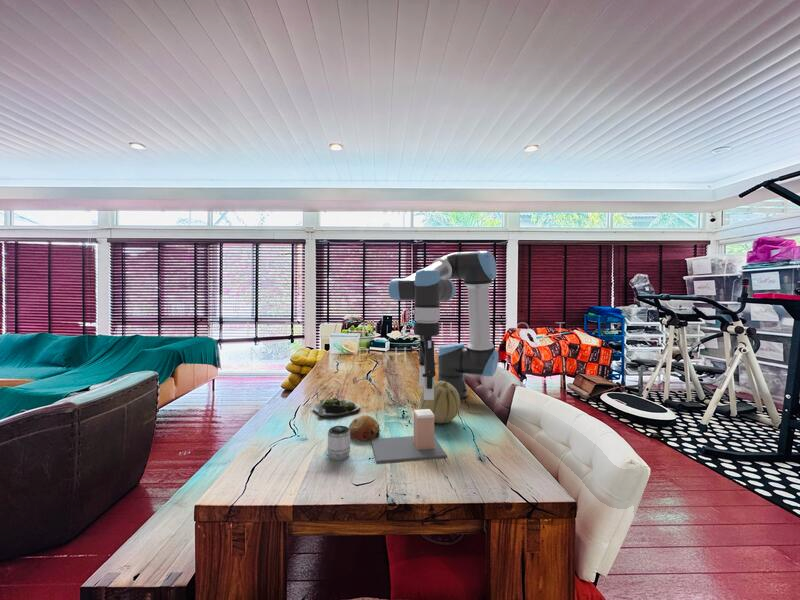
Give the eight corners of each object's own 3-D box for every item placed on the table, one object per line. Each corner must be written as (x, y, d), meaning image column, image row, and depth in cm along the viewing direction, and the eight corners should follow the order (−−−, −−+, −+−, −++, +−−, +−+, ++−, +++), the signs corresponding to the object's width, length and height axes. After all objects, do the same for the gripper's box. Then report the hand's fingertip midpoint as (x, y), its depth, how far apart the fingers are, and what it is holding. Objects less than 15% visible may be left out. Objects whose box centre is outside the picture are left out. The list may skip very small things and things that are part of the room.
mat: (432, 436, 110) (432, 434, 110) (446, 457, 96) (446, 455, 96) (371, 440, 106) (371, 439, 106) (376, 462, 92) (376, 460, 92)
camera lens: (336, 448, 100) (336, 422, 100) (354, 453, 98) (354, 426, 97) (322, 458, 95) (323, 430, 94) (341, 463, 92) (341, 434, 92)
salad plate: (302, 408, 136) (302, 396, 136) (341, 399, 147) (341, 389, 147) (323, 422, 121) (323, 409, 121) (365, 412, 132) (365, 400, 132)
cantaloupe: (432, 411, 133) (432, 373, 132) (466, 420, 124) (467, 379, 124) (411, 423, 121) (411, 381, 120) (448, 433, 112) (448, 388, 112)
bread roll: (370, 438, 116) (364, 415, 118) (388, 434, 109) (382, 409, 112) (346, 447, 109) (340, 422, 111) (365, 443, 102) (358, 416, 105)
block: (429, 441, 105) (429, 409, 105) (433, 448, 100) (434, 414, 100) (413, 442, 104) (413, 409, 104) (417, 449, 99) (417, 415, 99)
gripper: (411, 318, 113) (410, 381, 114) (418, 325, 89) (417, 406, 89) (433, 318, 114) (432, 381, 114) (446, 325, 89) (445, 406, 89)
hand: (426, 392), depth 102 cm, fingers open, 13 cm apart
